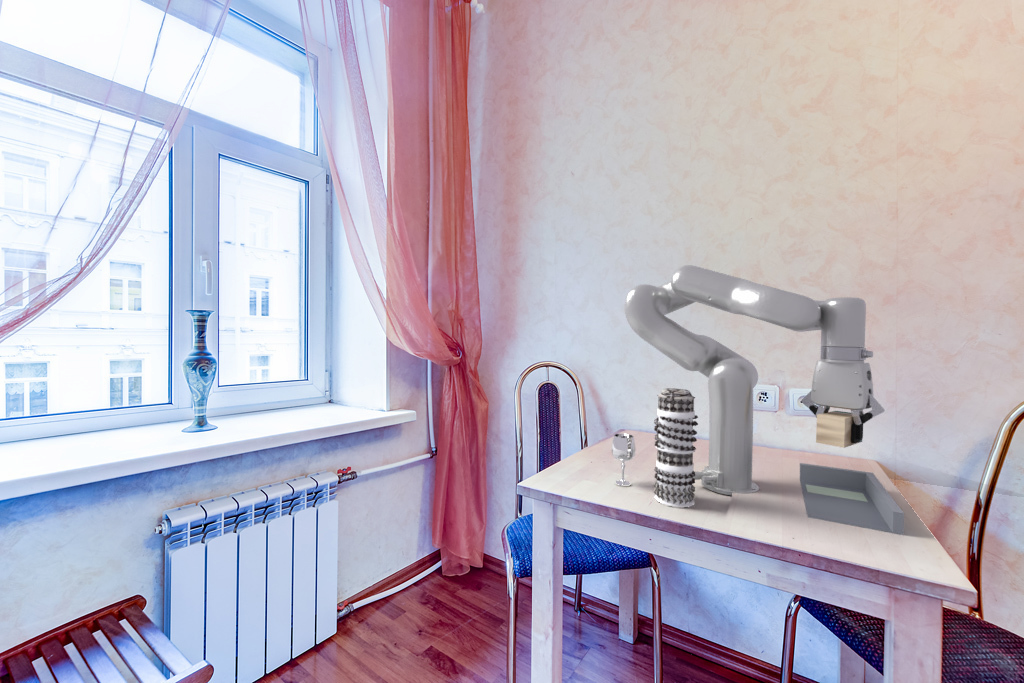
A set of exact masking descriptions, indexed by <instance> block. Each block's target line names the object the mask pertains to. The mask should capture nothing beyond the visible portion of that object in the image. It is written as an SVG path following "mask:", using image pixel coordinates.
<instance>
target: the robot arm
mask: <svg viewBox="0 0 1024 683" xmlns="http://www.w3.org/2000/svg"><path fill="white" fill-rule="evenodd" d="M695 303H699V304H701V305H705V306H708V307H711V308H715V309H718V310H721V311H724V312H727V313H730V314H733V315H742V316H747V317H750V318H753V319H756V320H759V321H762V322H766V323H768V324H772V325H775V326H779V327H782V328H785V329H788V330H791V331H793V332H797V333H802V332H805V333H806V332H811V331H813V332H814V331H820V356H819V357H820V358H819V359H820V360H817V361H816V364H815V367H814V371H813V375H812V380H811V390H810V391H809V392H808V393H807V394H806V395H805V396H803V398H802V399H801V400H800V401H801V403H802V404H803V405H804V406H805V407H807V408H808V409H809V411H810V412H811V413H812V414H813V415H814V416H815V418H816V419H817V414H822V413H827V412H830V408H835V409H842V410H843V409H844V410H850V413H852V417H853V420H854V421H853V424H852V425H851V443H857V444H859V443H858V442H860V440H862V441H863V438H864V424H866V423H867V422H869V421H870V420H872V419H873V418H875V417H876V416H879V415H881V414H883V413H884V412H885V408H884V407H883V406H882V405H881V404H880V403H879V401H878V400H877V399H876V398H875V397H874V384H873V383H874V382H873V376H872V369H871V364H870V363H869V362H865V361H867V360H866V359H867V358H873V357H874V351H873V350H868V349H867V348H866V346H865V341H866V321H867V320H866V318H867V316H866V314H867V304H866V302H865V300H864V299H863V298H860V297H851V296H850V297H848V296H847V297H833V298H828V299H825V300H814V299H813V298H810V297H809V296H805V295H802V294H798V293H794V292H791V291H787V290H784V289H780V288H776V287H773V286H767V285H764V284H761V283H756V282H754V281H752V280H748V279H745V278H741V277H738V276H734V275H730V274H725V273H721V272H720V271H719V272H718V271H715V270H713V269H708V268H704V267H700V266H697V265H688V264H686V265H682V266H680V267H678V268H677V269H675V271H674V272H673V273H672V276H671V278H670V280H669V281H667V282H665V283H663V284H660V285H659V286H656V285H652V284H645V283H644V284H639V285H636V286H634V287H632V288H631V289H630V290H629V291H628V293H627V294H626V296H625V301H624V314H625V318H626V321H627V322H628V325H629V326H630V328H631V329H632V330H633V332H634V333H636V335H637V336H638V337H639V338H641V339H642V340H643V341H645V342H646V343H648V344H649V345H650V346H652V347H653V348H655V349H656V350H658V351H659V352H660V353H662V355H664V356H666V357H667V358H669V359H670V360H672V361H673V362H674V363H676V364H678V365H679V366H680V367H681V368H682V369H684V370H686V371H690V372H698V373H700V374H702V376H704V377H706V378H708V379H707V380H708V383H707V386H708V400H709V402H708V403H709V404H708V405H709V414H708V415H709V416H708V418H709V431H708V433H709V434H708V437H709V438H708V442H709V443H708V466H707V465H706V466H704V469H702V470H701V471H694V472H695V476H694V477H693V478H694V479H695V481H696V480H698V481H699V480H701V481H700V482H701V485H702V486H703V487H704V488H705V489H708V491H712V492H714V493H716V494H717V493H718V494H720V495H725V496H726V495H727V496H731V497H732V495H733V493H734V494H753V493H757V492H759V490H760V486H759V485H758V484H757V483H755V482H753V453H754V452H753V451H754V449H753V446H754V445H753V443H754V441H753V440H754V439H753V438H754V389H755V387H756V385H757V383H758V379H759V372H758V370H757V368H756V366H755V365H754V363H752V362H751V361H749V360H748V359H747V358H745V357H743V356H742V355H740V354H738V353H737V352H736V351H734V350H732V349H731V348H729V347H727V346H726V345H723V344H722V343H721V342H720V341H718V340H716V339H714V338H712V337H710V336H707V335H704V334H697V333H694V332H692V331H690V330H688V329H687V328H685V327H684V326H682V325H680V324H679V323H677V322H676V321H674V320H672V319H671V318H669V317H667V316H666V315H668V314H671V313H673V312H676V311H678V310H680V309H683V308H685V307H688V306H690V305H692V304H695ZM867 409H871V410H869V411H867V412H865V413H864V410H867ZM860 443H861V442H860Z"/></svg>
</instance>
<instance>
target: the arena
mask: <svg viewBox="0 0 1024 683" xmlns="http://www.w3.org/2000/svg"><path fill="white" fill-rule="evenodd" d="M799 483H800V487H801V491H802V496H803V497H802V498H803V502H804V505H805V511H806V515H807V518H811V519H816V520H820V521H821V520H822V521H827V522H831V523H837V524H843V525H846V526H847V525H848V526H853V527H858V528H862V529H869V530H874V531H878V532H884V533H889V534H895V535H899V536H904V532H905V528H904V527H905V526H904V525H905V513H904V511H903V509H902V508H901V507H900V506H899V505H898V504H897V502H896V501H895V499H893V497H892V496H891V494H890V493H889V492H888V490H887V489H886V488H885V487H884V485H883V484H882V483H881V481H880V480H879V479H878V478H877V476H876V475H875V474H874V472H868V471H862V470H854V469H847V468H841V467H834V466H827V465H826V466H825V465H819V464H818V465H817V464H810V463H804V462H800V463H799Z"/></svg>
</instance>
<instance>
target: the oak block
mask: <svg viewBox="0 0 1024 683" xmlns="http://www.w3.org/2000/svg"><path fill="white" fill-rule="evenodd" d="M853 421H854V420H853V417H852V413H851V411H850V412H849V411H840V410H832V411H829V412H827V413H822V414H817V418H816V432H815V433H816V434H815V435H816V436H815V443H817V444H822V445H828V446H833V447H838V448H843V449H845V448H848V447H850V446H854V445H857V444H859V443H860V444H861V443H863V439H862V440H860V442H858V443H851V425H852V424H853Z"/></svg>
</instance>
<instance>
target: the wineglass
mask: <svg viewBox="0 0 1024 683" xmlns="http://www.w3.org/2000/svg"><path fill="white" fill-rule="evenodd" d="M611 454H612V456H613V458H614V459H615V460H617V461H620V463H621V464H620V467H621V478H620V480H619V479H618V480H619V481H617V480H615V481H616V483H617V484H618V485H629V484H630V483H629V482H630V481H628V480H625V468H626V463H627V462H630V461H632V460H633V458H634V457H635V456H636V443H635V438H634V436H633V435H632V434H627V433H615V434H614V435H613V437H612V442H611ZM625 462H626V463H625Z"/></svg>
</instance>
